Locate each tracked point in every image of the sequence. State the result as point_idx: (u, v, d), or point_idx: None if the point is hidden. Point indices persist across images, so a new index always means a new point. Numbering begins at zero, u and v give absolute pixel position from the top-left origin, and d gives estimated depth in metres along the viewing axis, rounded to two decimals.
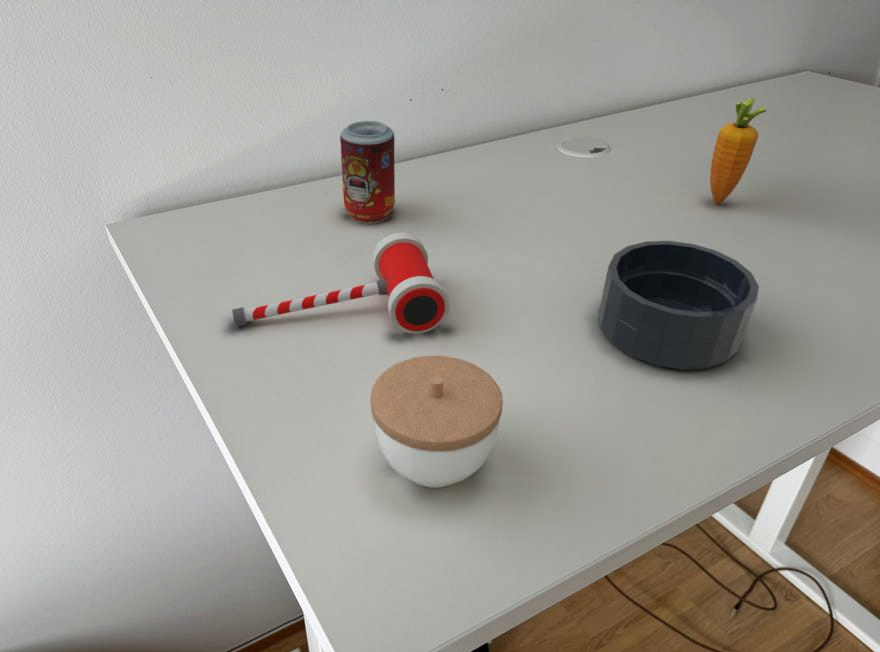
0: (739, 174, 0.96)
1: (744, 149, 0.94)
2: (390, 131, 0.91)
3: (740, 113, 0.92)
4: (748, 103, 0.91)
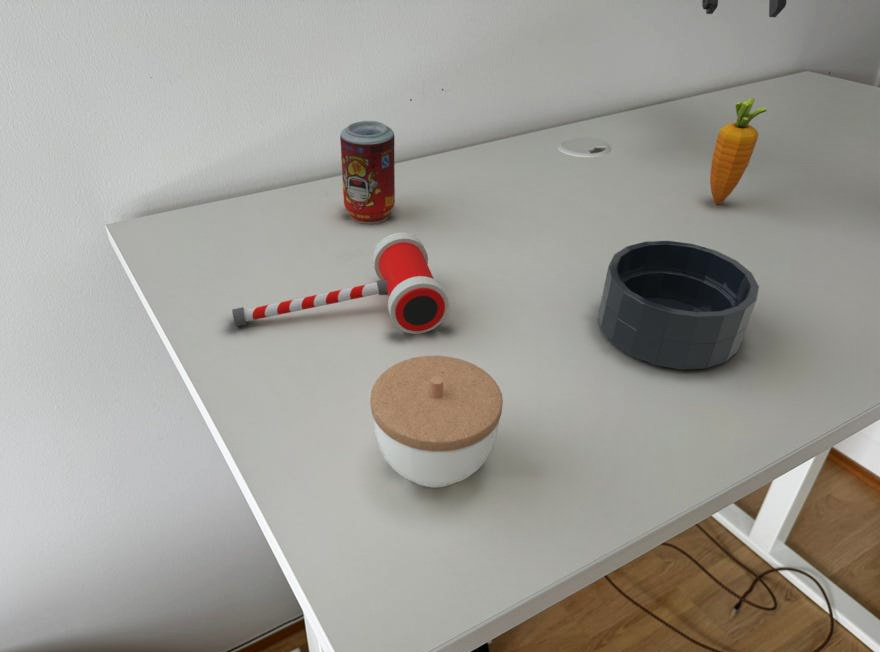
0: (739, 174, 0.96)
1: (744, 149, 0.94)
2: (390, 131, 0.91)
3: (740, 113, 0.92)
4: (748, 103, 0.91)
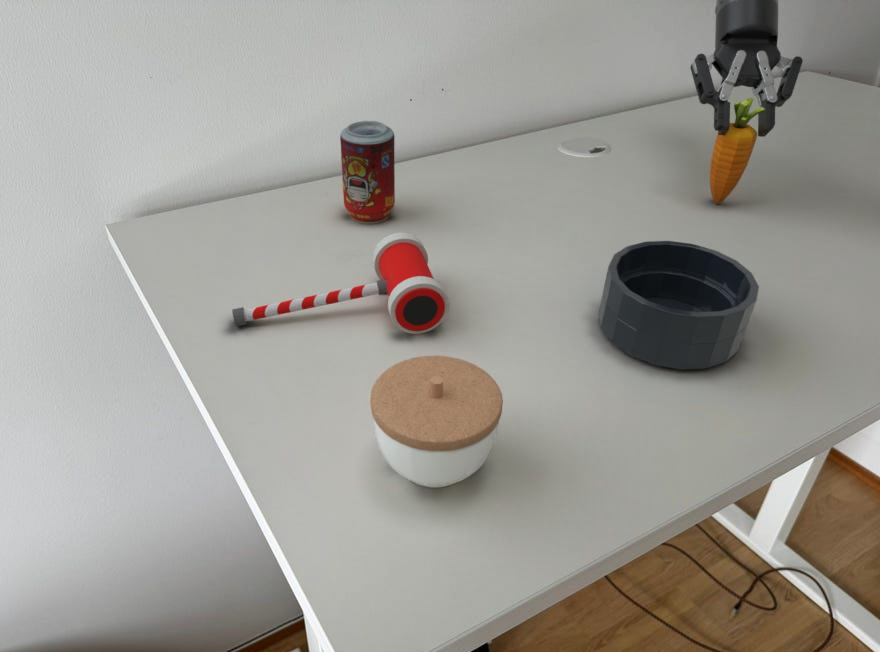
0: (738, 174, 0.96)
1: (743, 149, 0.94)
2: (390, 131, 0.91)
3: (739, 113, 0.92)
4: (746, 103, 0.91)
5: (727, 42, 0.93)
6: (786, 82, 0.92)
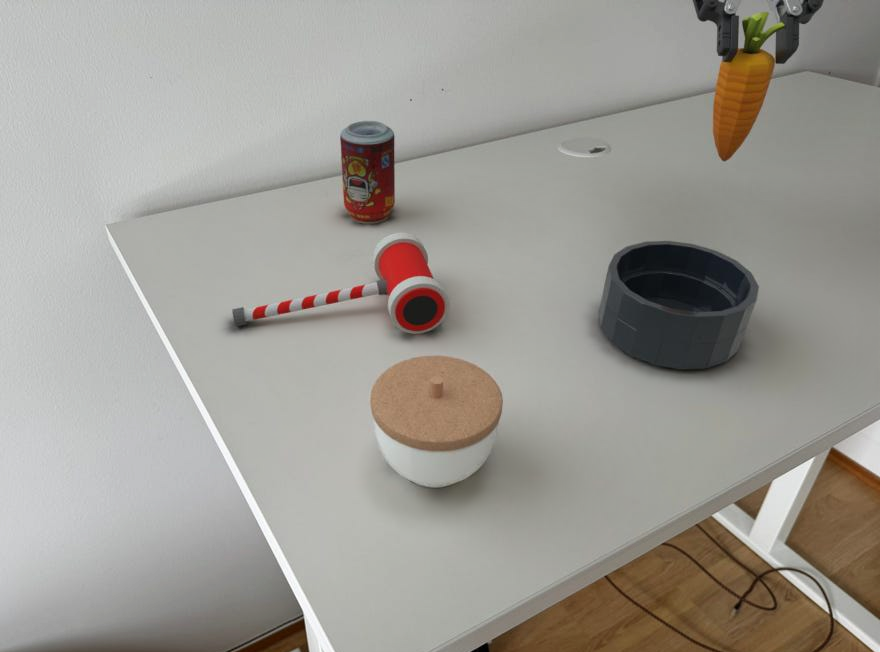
0: (751, 117, 0.72)
1: (756, 82, 0.69)
2: (390, 131, 0.91)
3: (748, 32, 0.68)
4: (759, 17, 0.66)
5: None
6: None
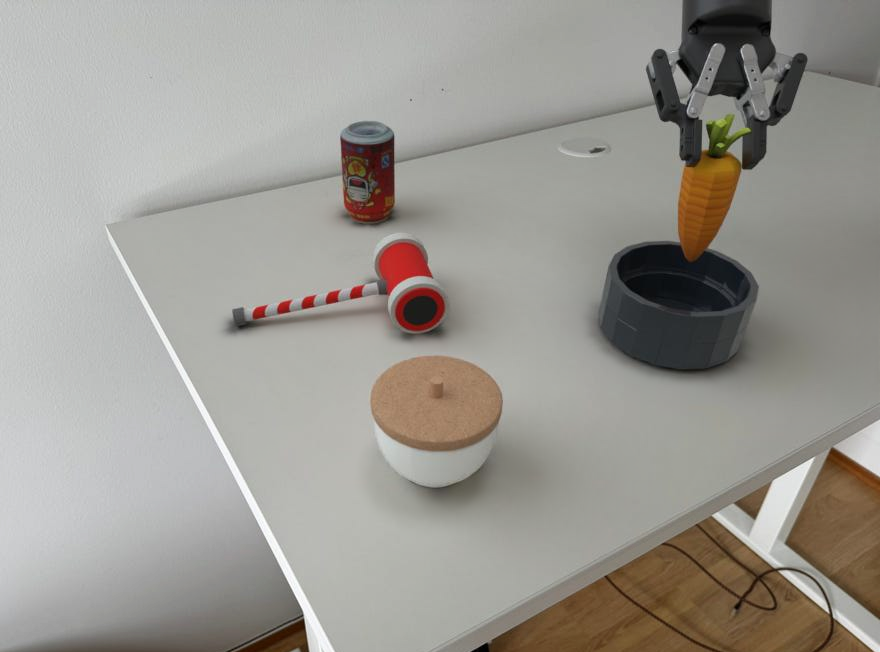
0: (717, 222, 0.67)
1: (721, 189, 0.65)
2: (390, 131, 0.91)
3: (713, 137, 0.63)
4: (723, 123, 0.62)
5: (698, 32, 0.64)
6: (783, 90, 0.63)
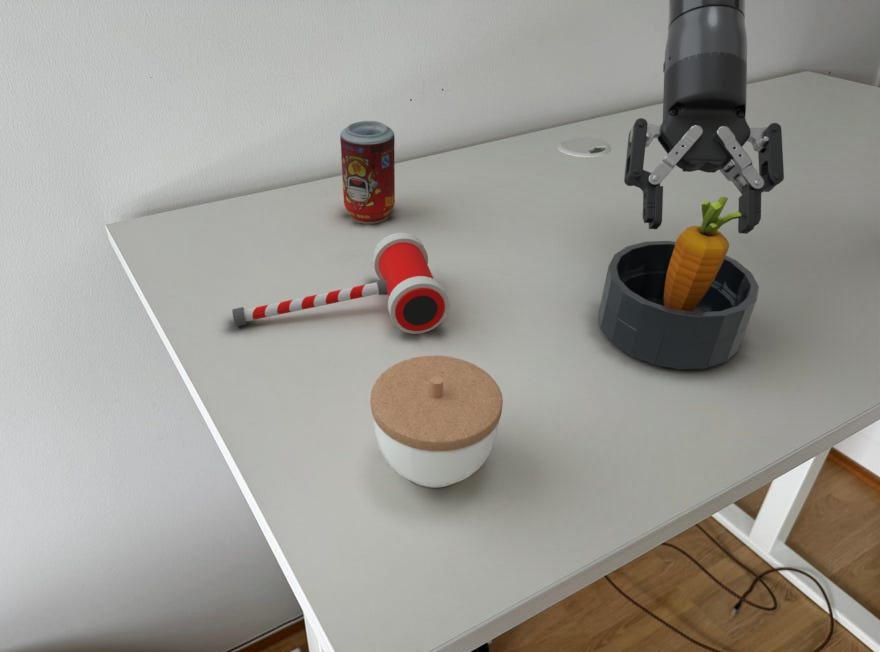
0: (701, 294, 0.72)
1: (709, 264, 0.70)
2: (390, 131, 0.91)
3: (707, 217, 0.68)
4: (718, 206, 0.67)
5: (677, 113, 0.69)
6: (770, 161, 0.67)
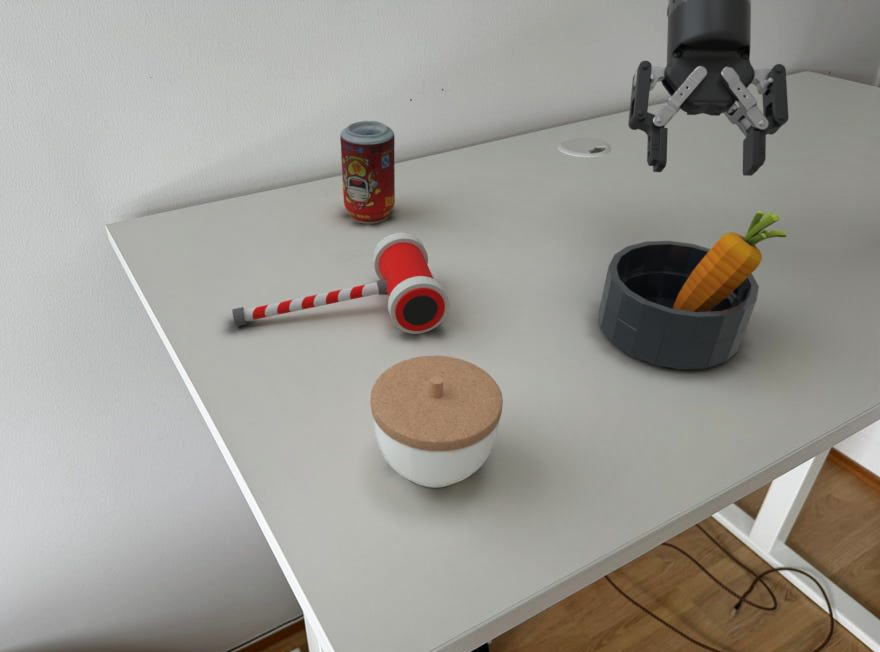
0: (720, 300, 0.73)
1: (743, 273, 0.70)
2: (390, 131, 0.91)
3: (759, 226, 0.69)
4: (777, 218, 0.68)
5: (682, 55, 0.68)
6: (775, 102, 0.67)
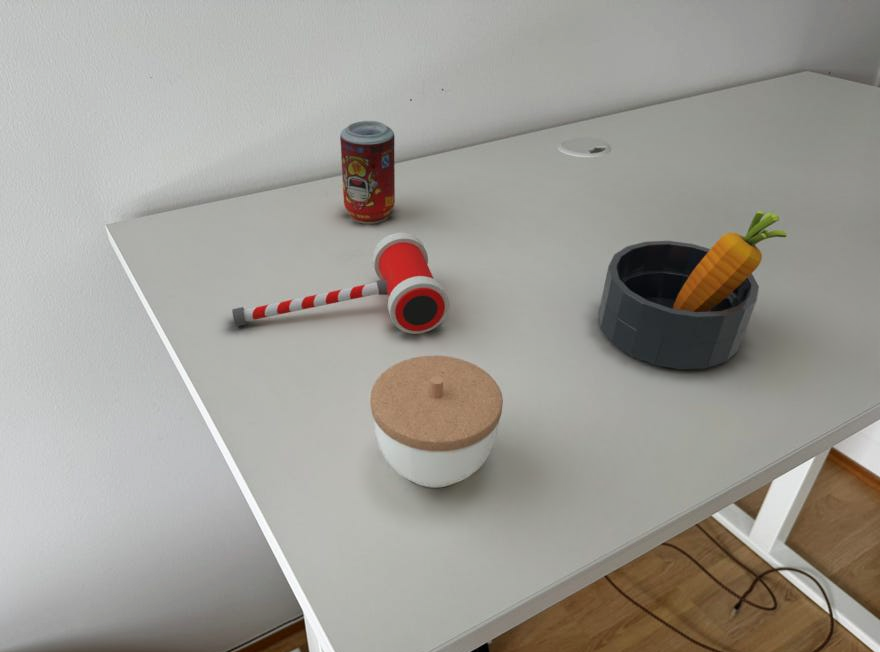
0: (720, 300, 0.73)
1: (743, 273, 0.70)
2: (390, 131, 0.91)
3: (759, 226, 0.69)
4: (777, 218, 0.68)
5: None
6: None
